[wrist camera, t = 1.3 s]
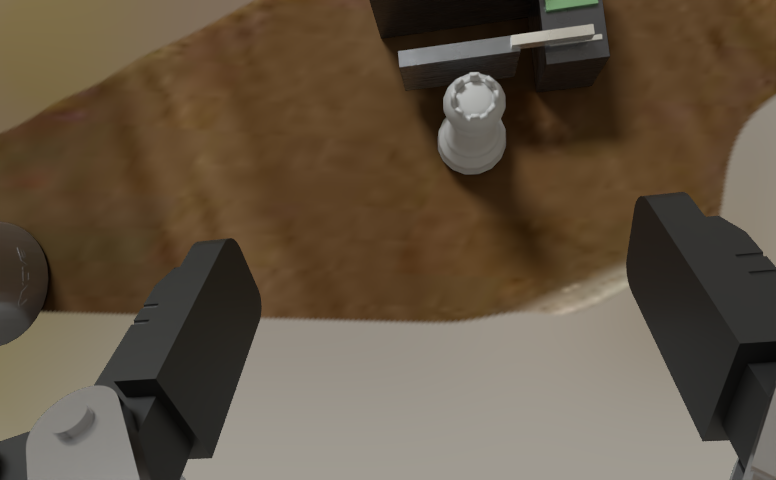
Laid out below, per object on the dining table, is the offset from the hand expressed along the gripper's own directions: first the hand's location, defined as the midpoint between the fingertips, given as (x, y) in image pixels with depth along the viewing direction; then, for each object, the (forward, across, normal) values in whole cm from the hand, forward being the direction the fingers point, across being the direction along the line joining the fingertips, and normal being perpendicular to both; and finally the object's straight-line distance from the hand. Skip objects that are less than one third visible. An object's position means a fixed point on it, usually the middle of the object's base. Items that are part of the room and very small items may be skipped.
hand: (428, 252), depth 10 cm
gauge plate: (+24, -4, +5) cm, 25 cm away
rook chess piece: (+23, -2, +9) cm, 25 cm away
